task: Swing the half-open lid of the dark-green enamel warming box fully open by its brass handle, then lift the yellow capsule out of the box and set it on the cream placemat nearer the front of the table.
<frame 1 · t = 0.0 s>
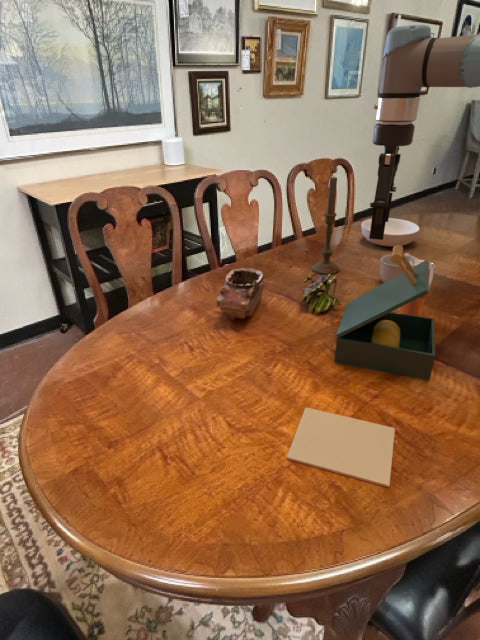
hand: (379, 229, 92), 25 cm above the table, tool pointing down, fingers open, 13 cm apart
yellow capsule: (383, 350, 95), point 1 cm above the table, touching open box
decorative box: (246, 313, 113), on the table
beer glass: (409, 319, 109), on the table
placemat: (342, 444, 71), on the table
open box: (383, 353, 95), on the table
lid: (373, 284, 88), point 16 cm above the table, hinge at 40.0°
serving bowl: (387, 243, 161), on the table
passion flower: (320, 307, 115), on the table
teacup: (398, 282, 129), on the table
candlestick holder: (325, 270, 139), on the table
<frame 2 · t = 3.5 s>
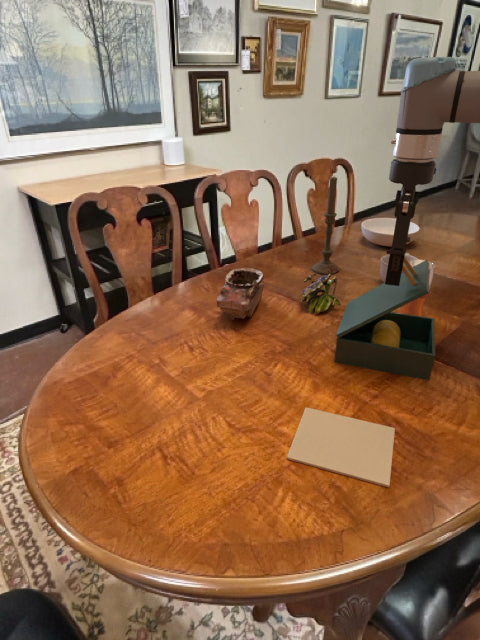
hand: (393, 277, 86), 18 cm above the table, tool pointing down, fingers closed on lid, 6 cm apart
lid: (373, 284, 88), point 16 cm above the table, hinge at 40.0°, touching gripper
everything else where it was.
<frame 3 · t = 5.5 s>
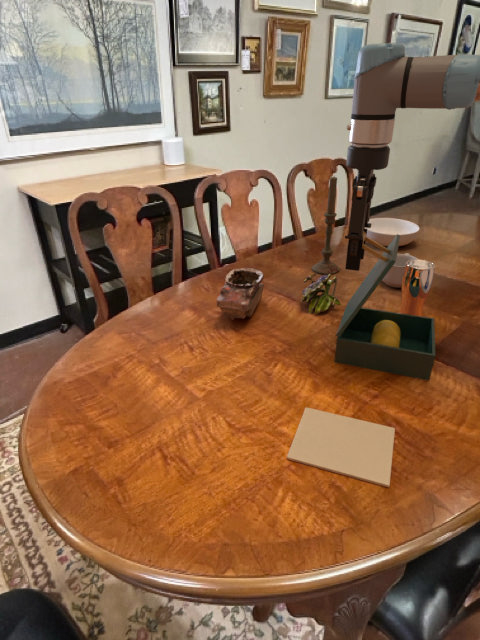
hand: (354, 263, 88), 21 cm above the table, tool pointing down, fingers closed on lid, 6 cm apart
lid: (352, 276, 89), point 18 cm above the table, hinge at 64.5°, touching gripper
everything else where it was.
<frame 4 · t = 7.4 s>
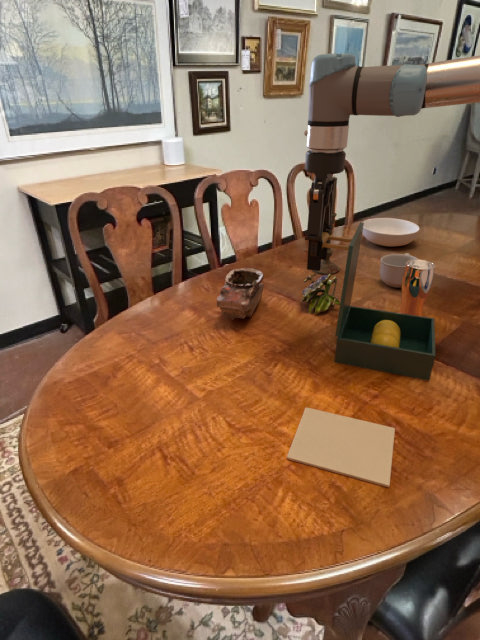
hand: (317, 263, 91), 19 cm above the table, tool pointing down, fingers closed on lid, 6 cm apart
lid: (332, 275, 91), point 17 cm above the table, hinge at 87.9°, touching gripper
everything else where it was.
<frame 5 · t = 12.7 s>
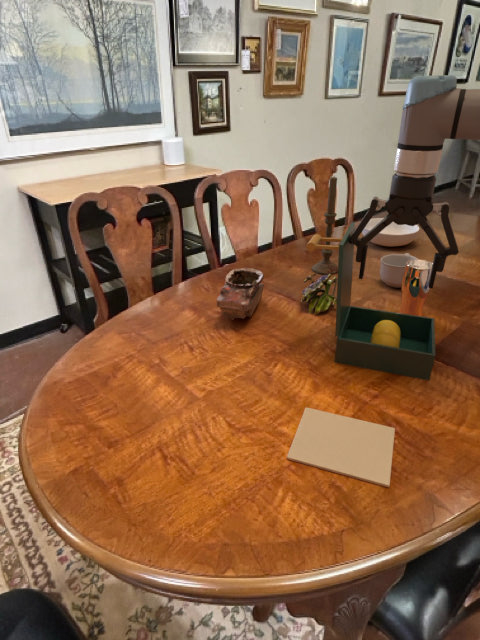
hand: (394, 281, 86), 18 cm above the table, tool pointing down, fingers open, 13 cm apart
lid: (328, 276, 91), point 17 cm above the table, hinge at 93.2°
everything else where it was.
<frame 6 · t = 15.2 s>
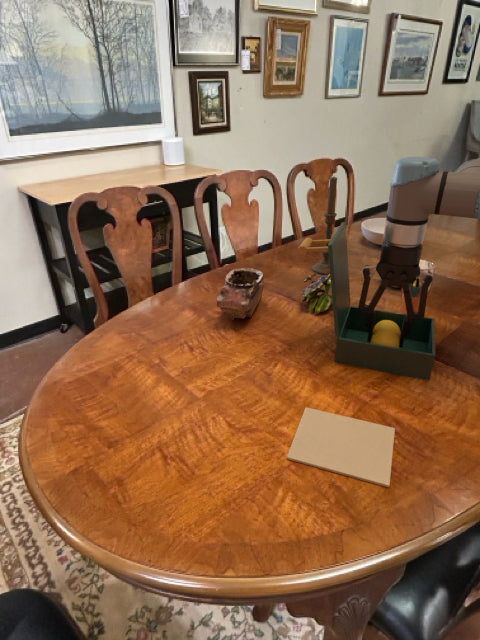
hand: (385, 341, 93), 3 cm above the table, tool pointing down, fingers closed on yellow capsule, 6 cm apart
yellow capsule: (383, 350, 95), point 1 cm above the table, touching gripper, open box
lid: (323, 278, 92), point 16 cm above the table, hinge at 99.3°
everything else where it was.
when the fingers open (3 cm above the table, at t = 23.2 s): yellow capsule stays where it is, resting on placemat.
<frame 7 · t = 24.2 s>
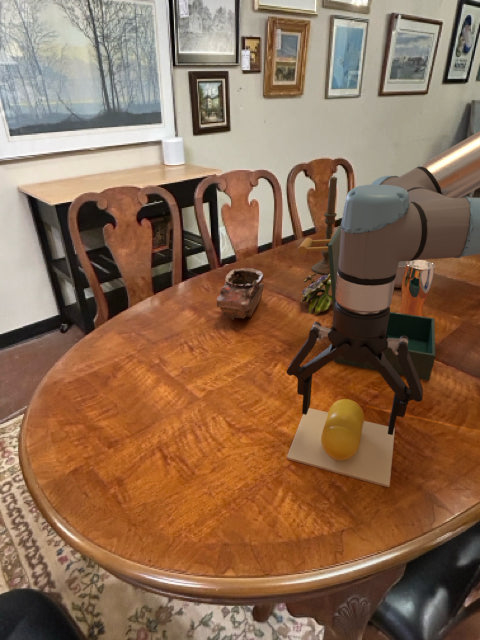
hand: (347, 418, 68), 6 cm above the table, tool pointing down, fingers open, 13 cm apart
yellow capsule: (342, 441, 71), point 1 cm above the table, touching placemat
everything else where it was.
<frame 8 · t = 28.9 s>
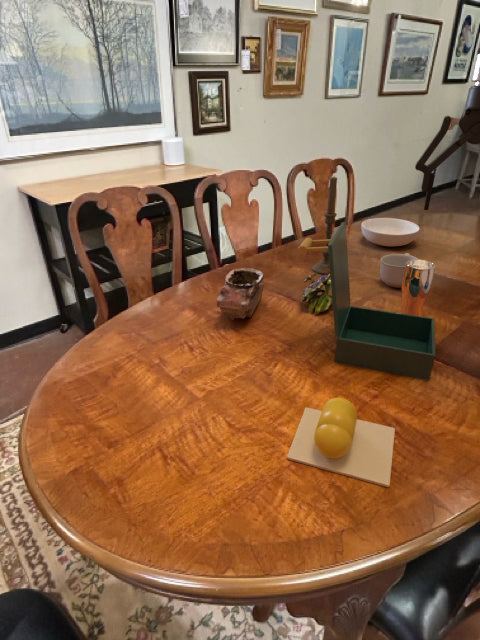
hand: (464, 211, 80), 32 cm above the table, tool pointing down, fingers open, 13 cm apart
yellow capsule: (342, 440, 71), point 1 cm above the table, tilted 26°, touching placemat
everything else where it was.
at the end: lid at +99° (first picture: +40°); yellow capsule inside the target area on the placemat (0.1 cm from its centre), point 0.8 cm above the placemat's base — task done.
